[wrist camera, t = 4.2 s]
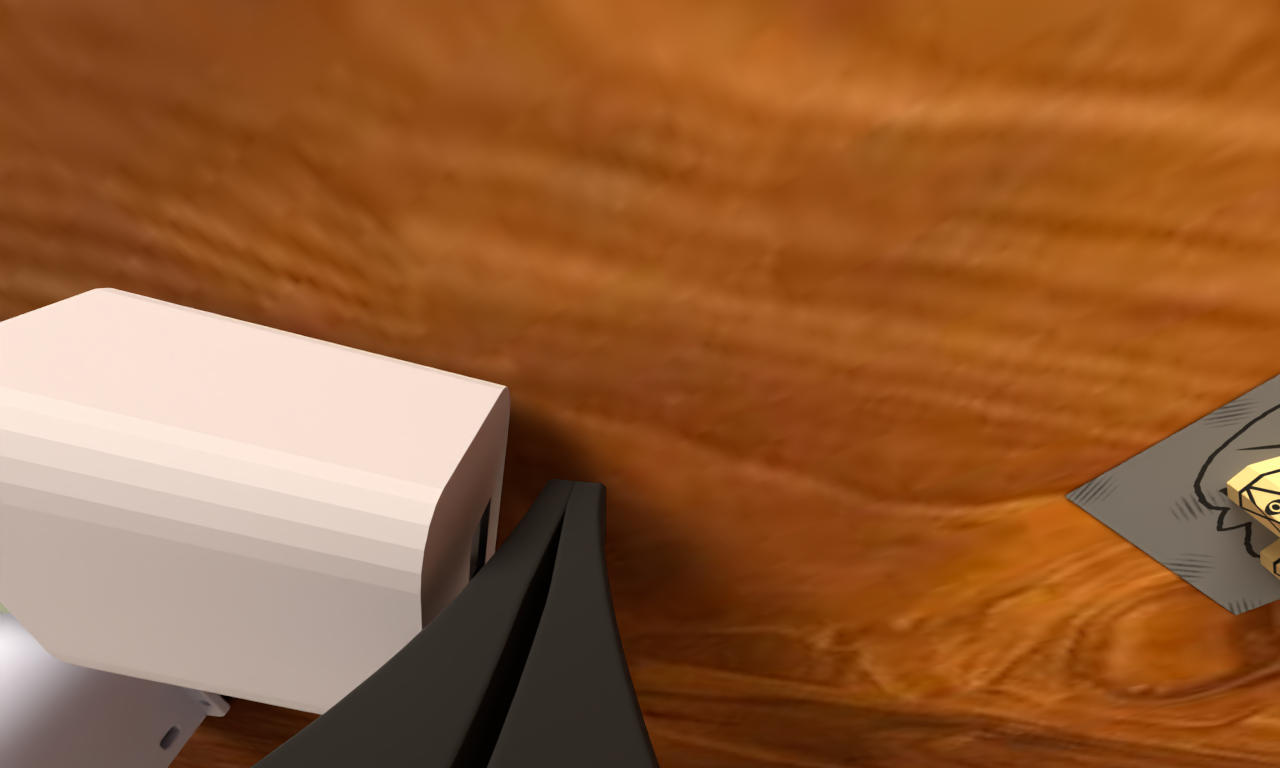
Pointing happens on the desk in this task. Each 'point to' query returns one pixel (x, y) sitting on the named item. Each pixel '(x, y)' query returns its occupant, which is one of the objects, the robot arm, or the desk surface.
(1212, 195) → the desk surface
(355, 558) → the charger
